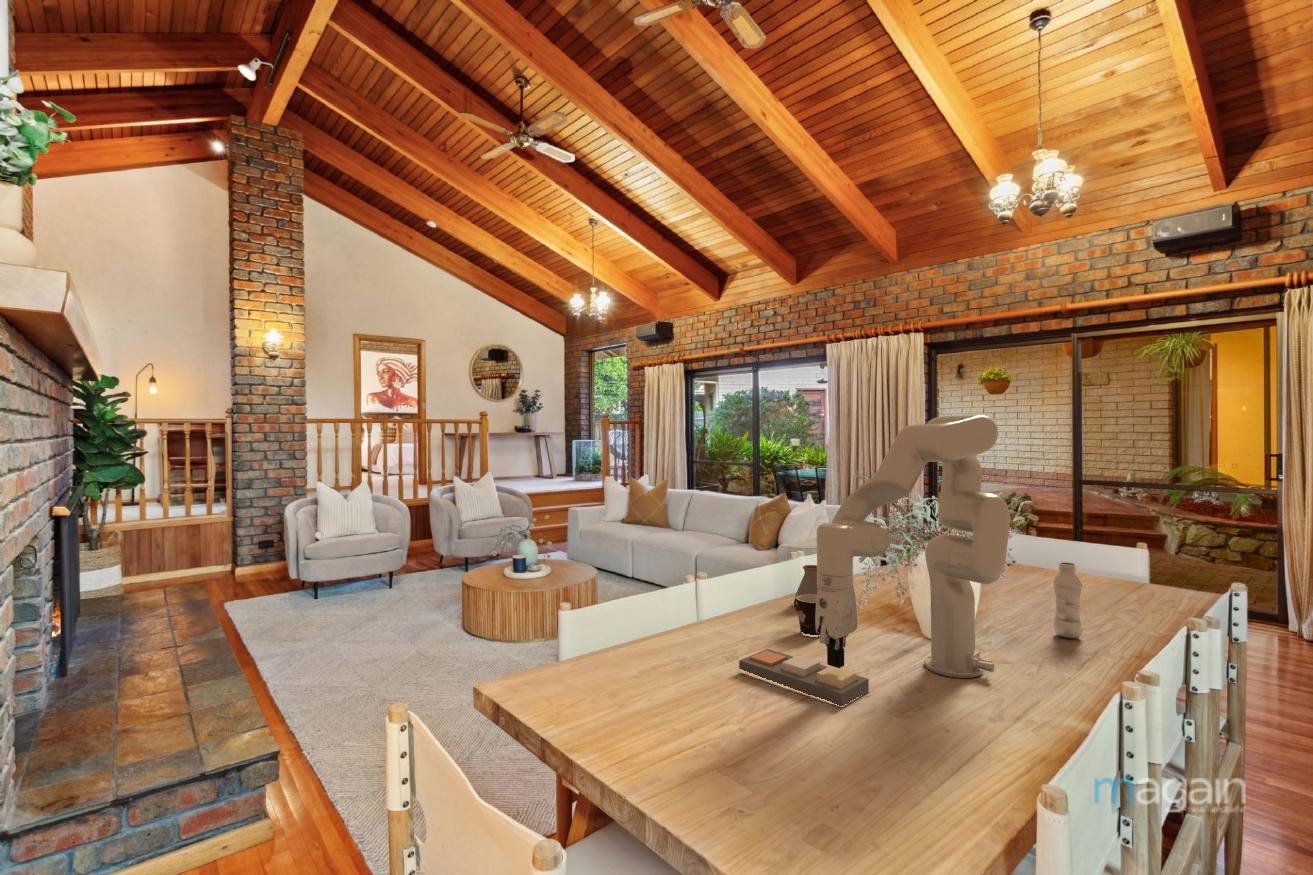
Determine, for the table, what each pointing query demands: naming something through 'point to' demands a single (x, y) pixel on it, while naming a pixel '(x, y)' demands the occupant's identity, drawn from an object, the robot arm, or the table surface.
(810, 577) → the coffee pot
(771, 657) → the key terracotta
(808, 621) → the coffee mug
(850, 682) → the block
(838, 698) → the keypad
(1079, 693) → the table surface
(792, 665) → the key grey
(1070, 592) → the plastic bottle
